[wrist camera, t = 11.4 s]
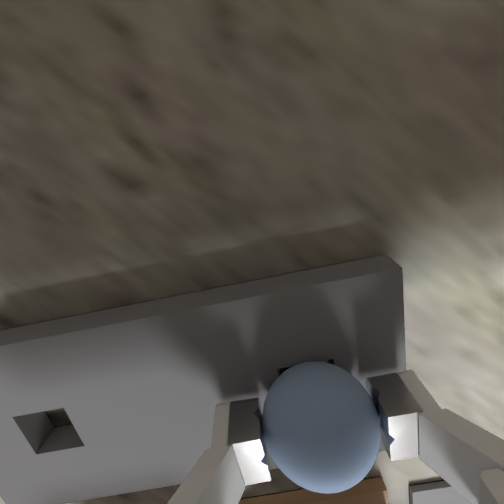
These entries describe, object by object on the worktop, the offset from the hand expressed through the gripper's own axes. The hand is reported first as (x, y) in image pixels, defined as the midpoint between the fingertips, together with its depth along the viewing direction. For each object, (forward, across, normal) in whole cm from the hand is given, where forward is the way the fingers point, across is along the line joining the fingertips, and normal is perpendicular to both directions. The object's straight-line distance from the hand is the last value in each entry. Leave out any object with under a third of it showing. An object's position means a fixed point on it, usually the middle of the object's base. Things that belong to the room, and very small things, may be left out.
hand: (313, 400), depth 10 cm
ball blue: (-1, 0, 0) cm, 1 cm away
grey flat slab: (+2, +5, 0) cm, 5 cm away
